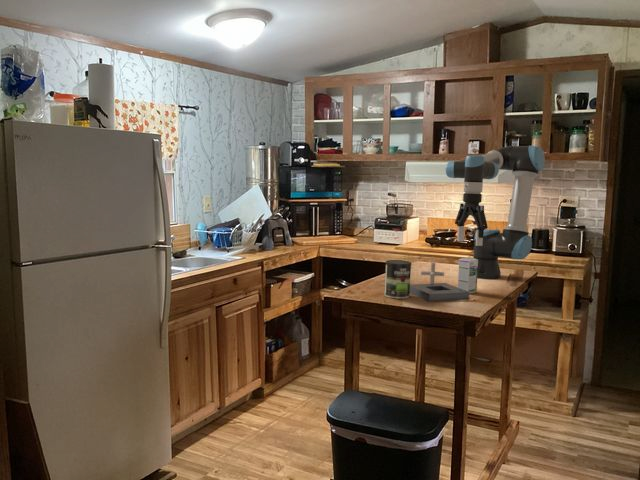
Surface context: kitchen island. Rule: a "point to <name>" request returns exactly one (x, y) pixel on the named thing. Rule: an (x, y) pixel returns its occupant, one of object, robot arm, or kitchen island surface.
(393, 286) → the coffee can
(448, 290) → the square hole plate
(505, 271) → the kitchen island surface
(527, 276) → the kitchen island surface
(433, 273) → the pipe connector
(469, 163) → the robot arm
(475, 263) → the syrup box
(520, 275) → the kitchen island surface
